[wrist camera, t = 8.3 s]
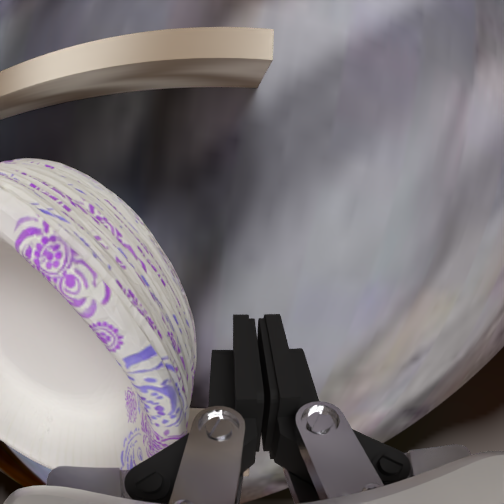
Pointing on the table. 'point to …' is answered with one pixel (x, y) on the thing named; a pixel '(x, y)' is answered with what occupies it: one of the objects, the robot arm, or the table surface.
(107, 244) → the paper bowls
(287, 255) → the table surface
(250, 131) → the table surface
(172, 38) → the box
